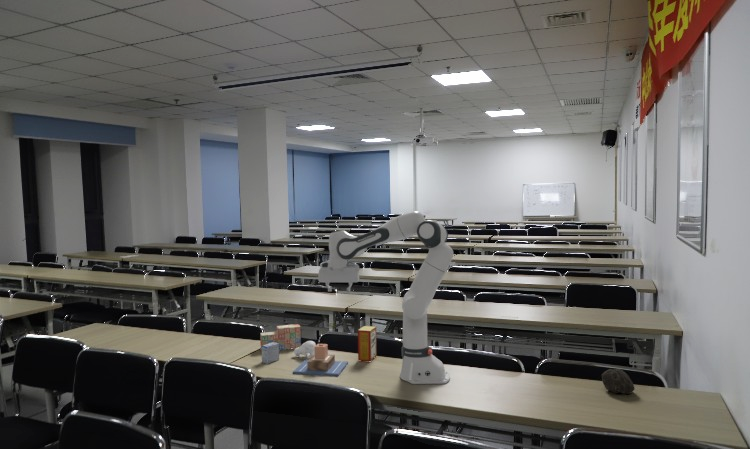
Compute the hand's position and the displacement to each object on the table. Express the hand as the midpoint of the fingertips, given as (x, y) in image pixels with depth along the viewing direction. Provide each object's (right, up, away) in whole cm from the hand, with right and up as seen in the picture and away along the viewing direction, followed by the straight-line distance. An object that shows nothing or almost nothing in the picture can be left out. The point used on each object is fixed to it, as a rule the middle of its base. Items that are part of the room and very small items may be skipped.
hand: (339, 291), depth 237 cm
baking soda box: (+14, -36, +10) cm, 40 cm away
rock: (+118, -36, -38) cm, 129 cm away
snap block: (-8, -31, -4) cm, 33 cm away
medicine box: (-35, -37, +8) cm, 52 cm away
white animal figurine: (-19, -36, +14) cm, 44 cm away
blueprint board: (-8, -37, -4) cm, 38 cm away
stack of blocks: (-35, -36, +30) cm, 58 cm away
